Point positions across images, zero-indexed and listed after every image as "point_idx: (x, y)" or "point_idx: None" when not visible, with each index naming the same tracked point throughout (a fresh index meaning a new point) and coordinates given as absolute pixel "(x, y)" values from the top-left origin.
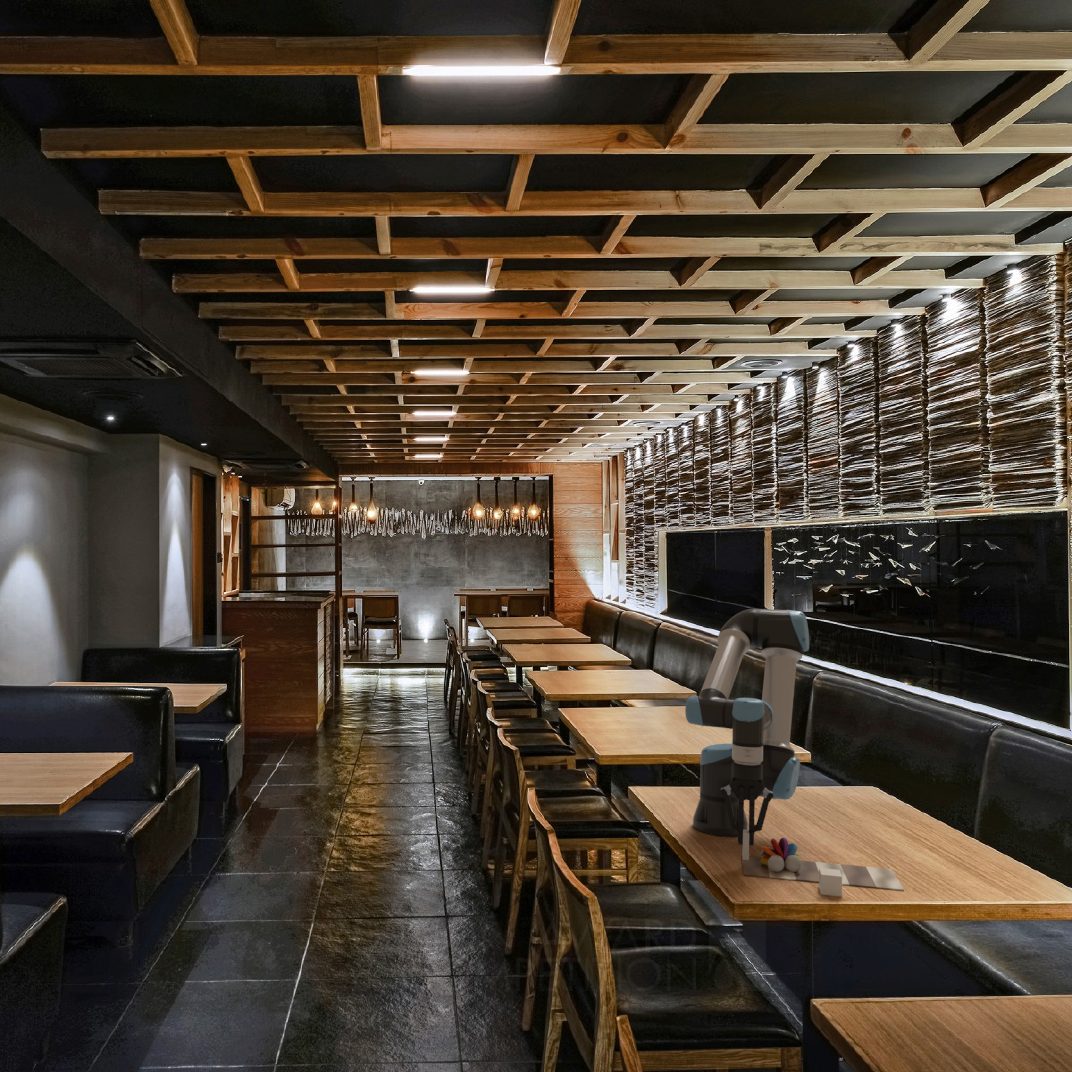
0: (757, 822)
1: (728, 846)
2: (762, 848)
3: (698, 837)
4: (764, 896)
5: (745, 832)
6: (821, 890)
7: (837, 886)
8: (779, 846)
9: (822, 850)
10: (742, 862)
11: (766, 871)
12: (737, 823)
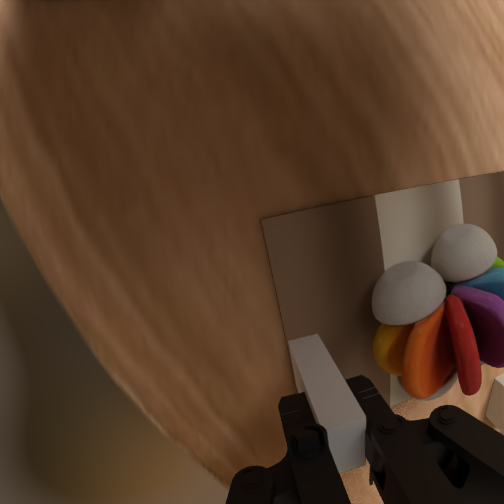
0: (449, 447)
1: (167, 94)
2: (404, 388)
3: (30, 61)
4: (362, 499)
5: (342, 465)
6: (490, 419)
7: None
8: (477, 320)
9: (498, 30)
10: (283, 324)
11: (382, 370)
12: (291, 490)
